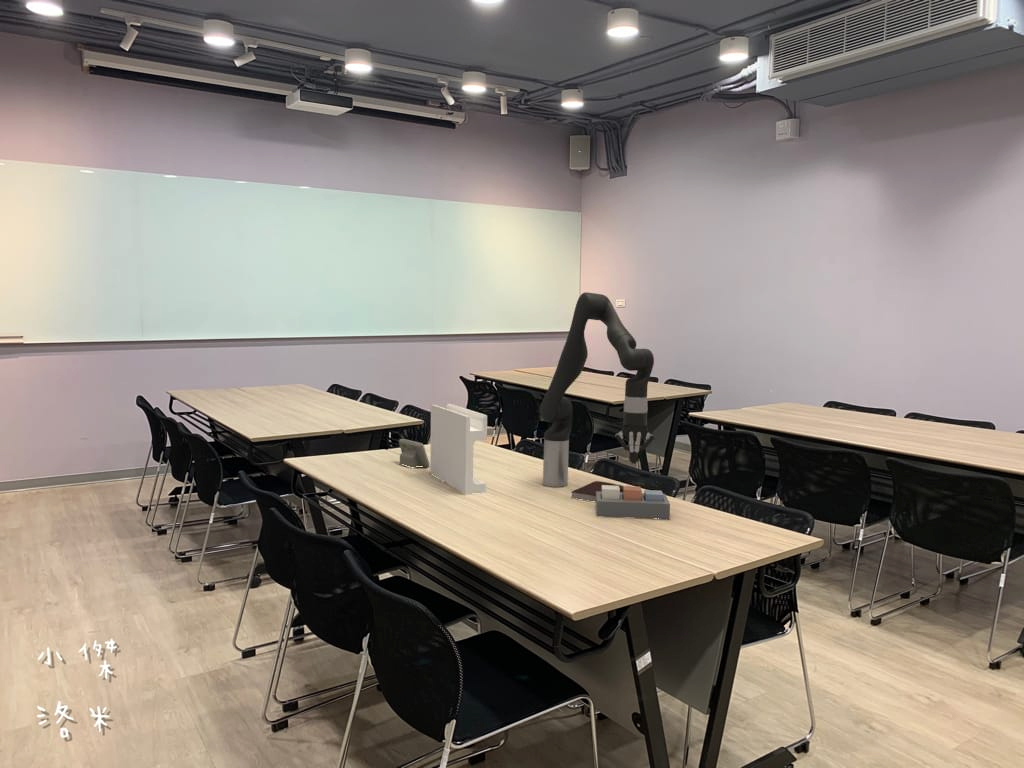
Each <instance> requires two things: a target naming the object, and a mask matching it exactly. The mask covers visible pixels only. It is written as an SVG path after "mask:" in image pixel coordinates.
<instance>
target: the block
mask: <svg viewBox="0 0 1024 768" xmlns="http://www.w3.org/2000/svg"><path fill="white" fill-rule="evenodd" d="M487 427H488V415H487V414H484V413H481V412H478V411H474V410H472V409H468V408H464V407H462V406H460V405H459V406H458V405H456V404H452V403H447V404H446V408H445V407H442V406H439V405H436V404H430V461H429V467H430V470H429V472H430V473H431V474H433V475H434V476H436V477H438V478H439V479H441V480H443V481H444V482H446V483H447V484H449V485H451V486H453V487H454V488H456V489H458V490H459V491H461V492H463V493H464V495H465V494H470V495H473V494H472V493H480V494H483V493H482V492H486V493H487V490H486V489H487V483H486V482H484V481H483V480H480V479H479V478H477V477H475V476H474V445H475V443H476V442H477V441H478V442H479V441H487V439H488V428H487ZM430 473H429V474H430ZM434 476H433V477H434ZM439 479H438V480H439ZM441 480H440V481H441ZM444 482H443V483H444ZM446 483H445V484H446ZM447 484H446V485H447ZM449 485H448V486H449ZM451 486H450V487H451ZM453 487H452V488H453ZM454 488H453V489H454ZM456 489H455V490H456ZM458 490H457V491H458ZM459 491H458V492H459ZM461 492H460V493H461ZM463 493H462V494H463Z"/></svg>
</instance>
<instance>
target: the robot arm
mask: <svg viewBox="0 0 1024 768" xmlns="http://www.w3.org/2000/svg"><path fill="white" fill-rule="evenodd" d="M589 320H592V321H600V322H602V323H603V324H604V325H605V326H606V337H607V340H608V342H609V343H610V345H611V346H612V347H613V348H614V350H615V352H616V353H617V357H618V358H619V362H620V364H621V367H622V368H624V369H625V370H626V371H630V372H631V371H632V372H634V371H635V372H636V373H635V376H632V377H629V378H627V379H626V381H625V384H624V385H625V387H624V388H625V389H624V402H623V420H622V421H623V423H622V427H621V430H620V431H619V432H618V433H615V439H616V440H617V442H619V445H620V446H622V448H623V450H625V451H628V452H629V454H628V455H629V456H628V457H629V458H628V460H629V462H630V463H631V465H632V464H633V465H634V464H637V463H638V462H639V455H640V454H639V453H640V452H643V451H645V449H647V447H648V446H649V445H650V444H651V443H652V442H653V440H655V436H654V435H653V434H651V433H650V432H649V429H648V425H647V424H648V410H649V409H648V384H649V381H650V377H651V374H652V372H653V367H654V365H655V357H654V354H653V352H652V351H651V350H650V349H648V348H637V341H636V339H635V337H634V336H632V334H631V333H630V331H629V330H628V329H627V328H626V327H625V326H624V323H623V322H622V320H621V318H620V317H619V315H618V313H617V311H616V309H615V307H614V306H613V303H612V302H611V300H610V299H609V297H608V296H607V295H604V294H601V293H594V292H582V293H581V294H580V296H579V297H578V299H577V302H576V304H575V307H574V311H573V316H572V320H571V324H570V327H569V331H568V334H567V337H566V341H565V343H564V346H563V348H562V351H561V354H560V357H559V360H558V361H557V362H558V363H557V366H556V369H555V372H554V374H553V377H552V379H551V382H550V385H549V387H548V388H547V390H546V393H545V395H544V397H543V400H542V402H541V404H540V411H539V413H540V417H541V419H542V420H543V421H545V422H546V423H552V425H551V426H550V427H549V428H548V429H546V430H545V432H544V435H543V437H544V438H543V439H544V441H543V445H544V446H543V467H542V486H545V485H546V486H547V487H551V486H552V487H551V488H553V487H554V488H562V487H561V486H563V487H566V485H567V486H568V484H569V451H570V450H569V447H570V445H569V443H570V434H571V433H572V432H571V431H572V425H573V424H572V423H573V405H572V402H571V400H570V398H568V397H567V396H564V395H565V394H566V392H567V390H568V389H569V388H570V387H571V385H572V384H574V382H575V381H576V380H577V379H578V378H579V376H580V375H581V374H582V372H583V369H584V367H585V365H586V361H587V359H588V354H589V353H588V346H587V342H586V337H585V330H586V325H587V323H588V321H589ZM624 437H625V439H626V440H627V441H628V445H627V443H625V441H624V440H623V438H624ZM644 439H645V441H643V440H644ZM642 441H643V443H642V444H641V442H642ZM640 444H641V445H640Z"/></svg>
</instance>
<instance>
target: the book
mask: <svg viewBox="0 0 1024 768" xmlns="http://www.w3.org/2000/svg"><path fill="white" fill-rule="evenodd" d="M602 485H612V486H619V489H620V492H623V486H624V485H621V484H616V483H613V482H612V483H611V482H606V481H599V480H595V481H592V482H590V483H588V484H586V485H582V486H581V487H578V488H576V489H574V490H572V491H571V492H570V493H571V497H573V498H577V499H576V500H579V499H583V500H582V501H584V500H589V501H588V502H590V501H595V502H594V503H596V491H599V492H602ZM573 498H572V499H573Z"/></svg>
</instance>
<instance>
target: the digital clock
mask: <svg viewBox="0 0 1024 768" xmlns="http://www.w3.org/2000/svg"><path fill="white" fill-rule="evenodd" d="M398 444H399V447H400V450H401V451H400V452H401V453H400V454H399V465H400V464H404V465H407V466H410V467H416V466H423V467H422V468H425V467H427V468H429V467H430V461H429V458H428V454H427V452H426V449H425V445H424V444H423V443H422V442H419V441H413V440H410V439H405V438H399V440H398Z"/></svg>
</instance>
